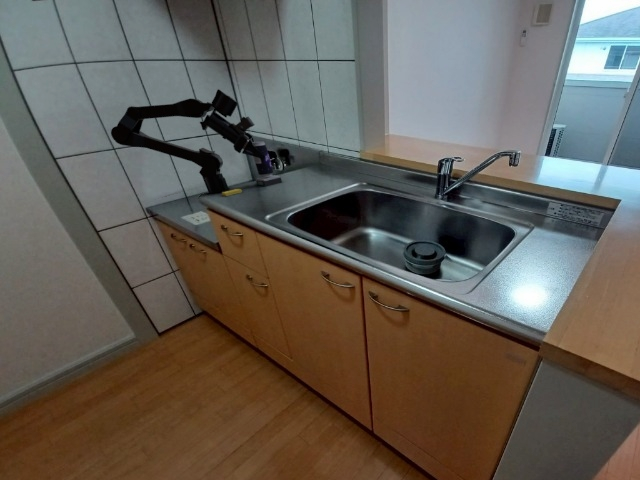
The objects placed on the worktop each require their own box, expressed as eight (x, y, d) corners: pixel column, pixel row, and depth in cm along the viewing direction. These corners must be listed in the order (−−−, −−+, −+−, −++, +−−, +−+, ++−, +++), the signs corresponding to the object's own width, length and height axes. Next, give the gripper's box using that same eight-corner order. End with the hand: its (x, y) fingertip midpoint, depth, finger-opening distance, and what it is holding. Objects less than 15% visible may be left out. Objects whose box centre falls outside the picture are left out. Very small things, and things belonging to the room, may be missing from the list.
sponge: (226, 196, 116) (225, 193, 116) (222, 195, 118) (221, 192, 118) (242, 192, 120) (241, 189, 119) (238, 191, 122) (237, 188, 121)
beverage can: (271, 175, 125) (262, 142, 119) (257, 177, 125) (247, 143, 119) (275, 173, 130) (266, 140, 124) (261, 174, 130) (252, 142, 124)
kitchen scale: (265, 186, 125) (263, 180, 124) (257, 185, 129) (255, 178, 128) (282, 182, 129) (280, 175, 128) (273, 180, 134) (271, 174, 132)
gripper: (231, 108, 107) (275, 140, 115) (238, 109, 122) (276, 137, 130) (215, 137, 109) (259, 167, 117) (224, 134, 125) (262, 161, 133)
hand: (265, 157), depth 125 cm, fingers closed on beverage can, 5 cm apart
